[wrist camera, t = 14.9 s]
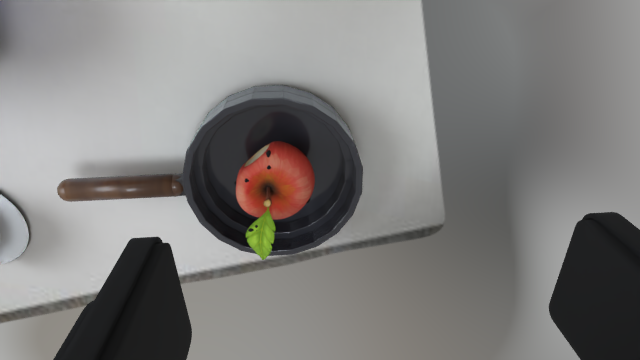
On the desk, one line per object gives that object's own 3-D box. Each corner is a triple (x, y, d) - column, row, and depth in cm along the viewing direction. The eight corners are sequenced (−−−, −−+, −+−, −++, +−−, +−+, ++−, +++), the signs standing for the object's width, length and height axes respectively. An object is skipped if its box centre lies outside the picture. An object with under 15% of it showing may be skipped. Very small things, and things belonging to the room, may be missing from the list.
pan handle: (194, 169, 37) (189, 179, 35) (197, 188, 37) (193, 199, 36) (61, 175, 36) (49, 186, 34) (68, 194, 37) (57, 206, 35)
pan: (356, 80, 36) (365, 94, 32) (353, 224, 44) (359, 250, 40) (180, 86, 36) (167, 102, 32) (206, 232, 43) (198, 260, 39)
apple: (234, 131, 37) (217, 183, 28) (308, 123, 37) (314, 172, 29) (249, 202, 41) (238, 268, 32) (316, 194, 41) (324, 257, 32)
